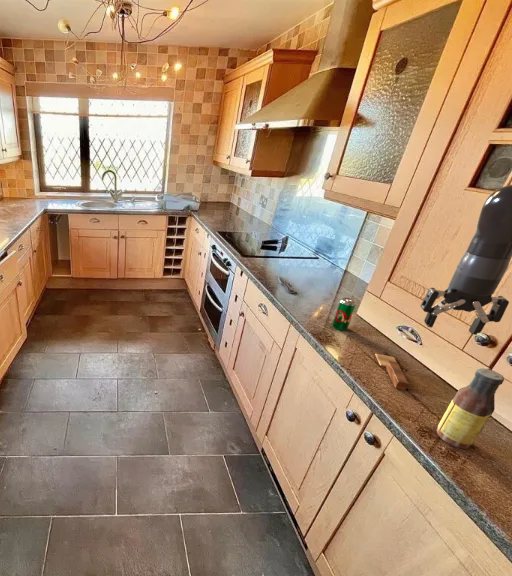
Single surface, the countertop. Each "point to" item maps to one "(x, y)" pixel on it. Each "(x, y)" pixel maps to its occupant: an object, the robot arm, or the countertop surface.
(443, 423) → the sauce bottle
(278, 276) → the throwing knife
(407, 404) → the countertop surface
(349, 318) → the soda can
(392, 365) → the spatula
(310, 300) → the countertop surface
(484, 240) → the robot arm
